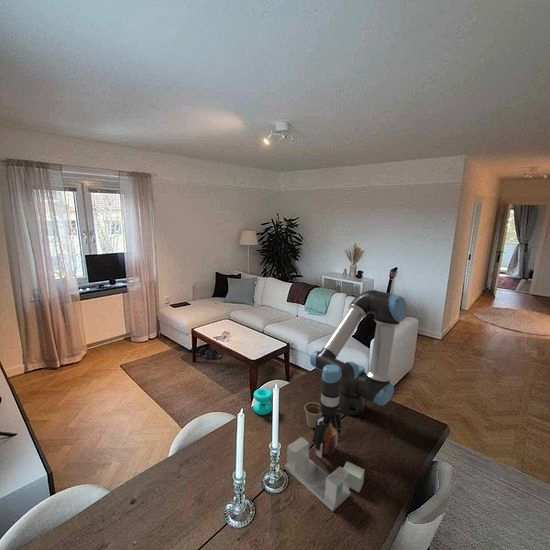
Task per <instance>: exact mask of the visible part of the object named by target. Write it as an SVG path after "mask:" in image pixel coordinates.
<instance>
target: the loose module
mask: <svg viewBox="0 0 550 550" xmlns="http://www.w3.org/2000/svg"><path fill="white" fill-rule="evenodd" d="M342 468H343V469H345V470H346V471H347V472H349V473H350V485H349V489H352V490H353V491H355V492H357V493H360V492H361V490H362V487H363V485H364V482H365V481H364V479H365V471H366V469H364V468H362V467H360V466H358V465H356V464H354V463H351V462H350V461H346V462H345V464H344V466H343V467H342Z"/></svg>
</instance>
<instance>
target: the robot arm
mask: <svg viewBox="0 0 550 550" xmlns="http://www.w3.org/2000/svg"><path fill="white" fill-rule="evenodd" d="M407 311H408V307H407V301H406V300H405V298H404V297H402V296H401V295H397V294H395V293H389V292H384V291H380V290H376V289H375V290H374V289H370V290H369V289H368V290H366V291H364V292H362V293H359V294H358V295H357V296H356V297H355V298H354V299H353V300H352V301H351V302H350V303H349V305H348V311H347V312H346V313H345V315H344V316H343V318H342V319H341V320H340V322H339V323H338V324H337V326H336V328H335V330H334V331H333V332H332V334H331V335H330V337H329V338H328V340H327V341H326V342H325V344H324V346H323V347H322V349H321V350H315V351H313V352H312V353H311V355H310V356H309V357H310V358H309V362H310V365H311V366H312V367H314V368H315V369H316V370H319V371H321V372H322V374H321V391H320V403H319V404H320V410H321V413H322V416H321V419H319V420H318V419H316V426H315V428H314V433H313V436H312V439H311V440H312V441H311V442H312V443H314V444H315V455H316V456H317V457H319V458H320V459H322V457H323V454H322V447H323V443H322V440H323V437H324V434H325V431H326V429H327V428H328V426H329V424H332V426H333V427H334V428H337V430H338V433H337V435H336V438H335V447H337V446H338V437H339V433H341V432H342V431H341V429H342V427H343V424H342V414H343V415H348V416H360V415H362V414H363V413H364V412H365V407H366V405H365V402H364V399H365V400H367V401H370V402H372V403H373V404H376V405H378V406H381V407H382V406H385V405H387V404H388V403H389V401H390V400H391V399H392V397H393V394H394V390H395V387H394V384H393V383H391V380H392V379H391V376H390V375H389V370H390V369H389V368H390V363H391V362H390V361H391V358H392V357H391V355H392V350H393V344H394V338H395V331H396V327H397V326H399V325H400V322H403V321H404V320H405V318H406V316H407ZM368 314H372V315H373V317H374V318H373V321H374V322H375V323H376V326H375V331H374V339H373V345H372V349H371V350H372V351H371V359H370V364H369V369H368V370H367V371H366V372H365V370H366V368H365V367H364V366H363V365H361V364H357V363H356V362H354V361H346V362H345V361H342V360H339V359H337V358H338V356H339V355H340V353H341V351H342V350H343V348H344V347H345V345H346V344H347V342H348V341H349V339H350V337H351V336H352V334H353V333H354V331H355V330H356V329H357V326H359V324H360V323H361V320H362V319H365V318H366V317H367V315H368ZM323 423H324V424H323ZM325 424H326V425H325Z"/></svg>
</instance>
